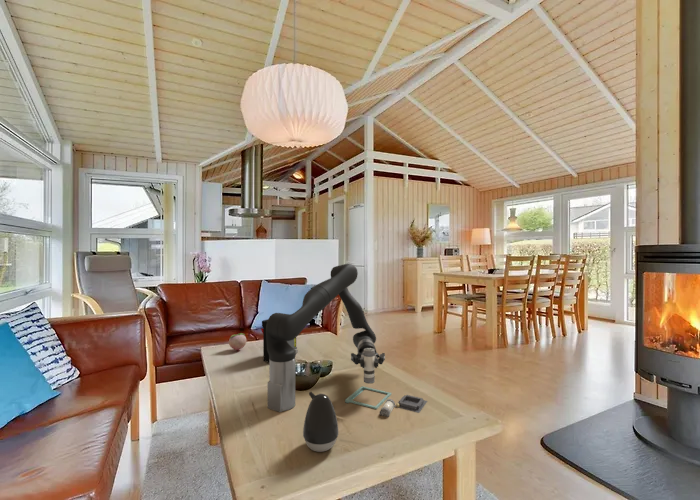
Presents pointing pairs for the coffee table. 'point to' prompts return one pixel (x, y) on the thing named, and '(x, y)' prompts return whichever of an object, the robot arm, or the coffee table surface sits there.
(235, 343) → the decorative fruit
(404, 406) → the holder block
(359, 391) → the teal square frame
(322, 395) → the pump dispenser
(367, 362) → the fuse
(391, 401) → the cylinder
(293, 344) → the electrical component
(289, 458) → the coffee table surface
